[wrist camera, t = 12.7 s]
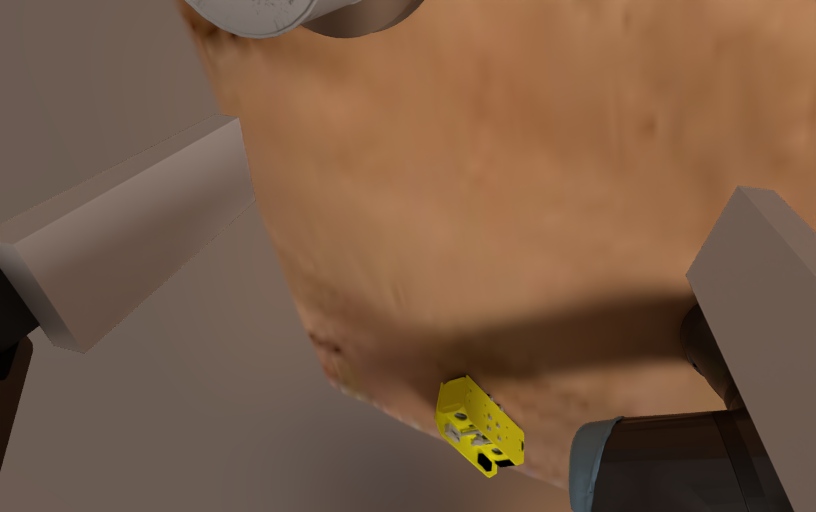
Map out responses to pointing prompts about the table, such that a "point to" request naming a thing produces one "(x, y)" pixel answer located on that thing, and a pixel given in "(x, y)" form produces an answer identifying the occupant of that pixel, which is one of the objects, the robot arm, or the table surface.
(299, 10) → the speckled grey cylinder
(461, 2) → the table surface
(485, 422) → the yellow toy chassis
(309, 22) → the plinth
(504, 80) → the table surface
